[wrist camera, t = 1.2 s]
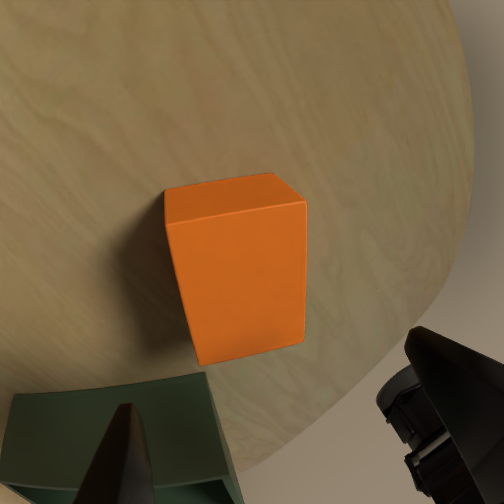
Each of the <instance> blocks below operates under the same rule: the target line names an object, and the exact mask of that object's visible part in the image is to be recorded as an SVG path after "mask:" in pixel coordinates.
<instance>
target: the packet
mask: <svg viewBox="0 0 504 504" xmlns="http://www.w3.org/2000/svg"><path fill="white" fill-rule="evenodd" d="M164 214H165V229H166V234H167V239H168V244H169V248H170V253H171V257H172V262H173V266H174V271H175V275H176V279H177V284H178V288H179V292H180V296H181V300H182V304H183V308H184V312H185V316H186V320H187V323H188V327H189V331H190V335H191V338H192V342H193V346H194V349H195V353H196V356H197V360H198V363H199V365H200V366H204V365H209V364H214V363H219V362H224V361H228V360H233V359H237V358H242V357H246V356H250V355H254V354H259V353H263V352H267V351H271V350H275V349H279V348H282V347H286V346H290V345H294V344H298V343H301V342H304V328H305V301H306V258H307V201H306V200H305V199H304V198H303V197H301V196H300V195H299V194H298V193H297V192H295V191H294V190H293V189H292V188H291V187H289V186H288V185H287V184H286V183H284V182H283V181H282V180H281V179H279V178H278V177H277V176H276V175H274V174H273V173H266V174H259V175H252V176H245V177H238V178H231V179H225V180H218V181H212V182H206V183H200V184H194V185H189V186H183V187H178V188H172V189H167V190H164Z"/></svg>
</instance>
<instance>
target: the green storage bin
mask: <svg viewBox="0 0 504 504" xmlns="http://www.w3.org/2000/svg"><path fill="white" fill-rule="evenodd" d="M128 402H132V403H133V404H134V405H135V407H136V408H137V410H138V412H139V413H140V415H141V417H142V419H143V423H144V429H145V434H146V440H147V445H148V451H149V456H150V461H151V467H152V476H153V487H154V497H155V504H245V503H244V500H243V497H242V494H241V490H240V487H239V483H238V480H237V476H236V473H235V469H234V466H233V462H232V458H231V455H230V451H229V448H228V445H227V442H226V439H225V436H224V433H223V430H222V427H221V424H220V420H219V417H218V414H217V411H216V407H215V404H214V401H213V397H212V394H211V391H210V387H209V384H208V380H207V377H206V373H205V372H201V373H196V374H191V375H186V376H180V377H175V378H169V379H163V380H157V381H151V382H144V383H138V384H131V385H123V386H116V387H108V388H99V389H90V390H80V391H69V392H56V393H41V394H19V395H14V396H13V400H12V404H11V408H10V412H9V416H8V420H7V425H6V429H5V434H4V439H3V445H2V450H1V456H0V483H2V484H3V485H4V486H6V487H7V488H9V489H10V490H12V491H13V492H15V493H16V494H18V495H19V496H21V497H22V498H24V499H26V500H27V501H29V502H30V503H32V504H72V503H73V501H74V499H75V498H76V494H77V492H78V490H79V488H80V485H81V483H82V481H83V479H84V477H85V474H86V472H87V470H88V468H89V466H90V463H91V461H92V459H93V457H94V455H95V453H96V450H97V448H98V446H99V444H100V442H101V440H102V438H103V436H104V434H105V431H106V429H107V427H108V425H109V423H110V421H111V419H112V417H113V415H114V413H115V411H116V409H117V407H118V405H119V404H121V403H128Z"/></svg>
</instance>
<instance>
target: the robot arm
mask: <svg viewBox="0 0 504 504" xmlns="http://www.w3.org/2000/svg"><path fill="white" fill-rule="evenodd" d="M404 349H405V353H406V355H407V357H408V359H409V361H410V363H411V365H412V367H413V369H414V372H415V374H416V376H417V378H418V380H419V382H420V383H418V384H416V385H413V386H411V387H409V388H407V389H405V390H403V391H401V392H400V393H399V394H398V395H397V398H396V400H395V402H394V404H393V406H392V409H391V411H390V413H389V415H388V417H387V419H386V422H387V423H388V424H389V423H391V425H392V426H393V428H394V429H395V431H396V432H397V434H398V435H399V437H400V439H401V440H402V442H403V443H404V444H406V443H408V445H409V446H410V448H411V449H412V452H411V453H410V454H407V455H406V456H405V460H404V461H405V463H406V465H407V466H408V468H409V470H410V472H411V475H412V478H413V481H414V484H415V487H416V489H417V491H420V492H423V493H424V494H425V495H426V496H427V497H432V498H433V500H434V502H435V504H504V364H502V363H500V362H498V361H496V360H494V359H492V358H489V357H487V356H485V355H483V354H481V353H479V352H476V351H474V350H472V349H470V348H468V347H466V346H463V345H461V344H459V343H457V342H455V341H453V340H450V339H448V338H446V337H444V336H442V335H440V334H437V333H435V332H433V331H431V330H429V329H426V328H424V327H422V326H417V327H415V328H412V329H410V330H409V333H408V336H407V339H406V342H405V346H404ZM72 504H155V497H154V487H153V476H152V467H151V461H150V456H149V451H148V445H147V440H146V434H145V429H144V423H143V419H142V417H141V415H140V413H139V412H138V410H137V408H136V407H135V405H134V404H133V403H132V402H128V403H121V404H119V405H118V407H117V409H116V411H115V413H114V415H113V417H112V419H111V421H110V423H109V425H108V427H107V429H106V431H105V434H104V436H103V438H102V440H101V442H100V444H99V446H98V448H97V450H96V453H95V455H94V457H93V459H92V461H91V463H90V466H89V468H88V470H87V472H86V474H85V477H84V479H83V481H82V483H81V485H80V488H79V490H78V492H77V494H76V498H75V499H74V501H73V503H72Z"/></svg>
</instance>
